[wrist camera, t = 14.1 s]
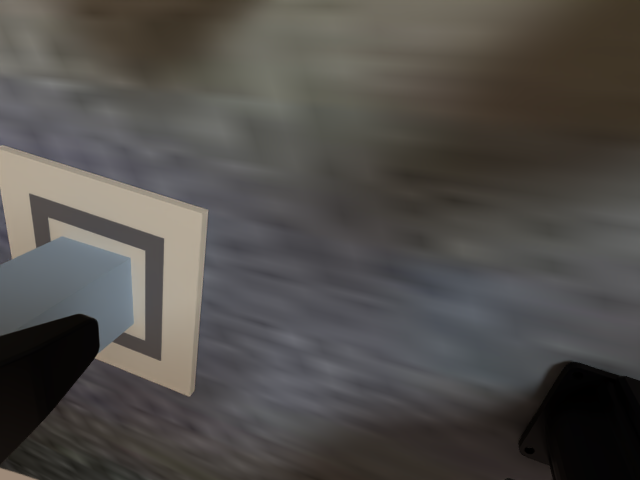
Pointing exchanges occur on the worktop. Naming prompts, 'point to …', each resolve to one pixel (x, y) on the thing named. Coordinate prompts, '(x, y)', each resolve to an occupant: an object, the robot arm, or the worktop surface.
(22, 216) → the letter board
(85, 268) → the blue block
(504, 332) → the worktop surface
